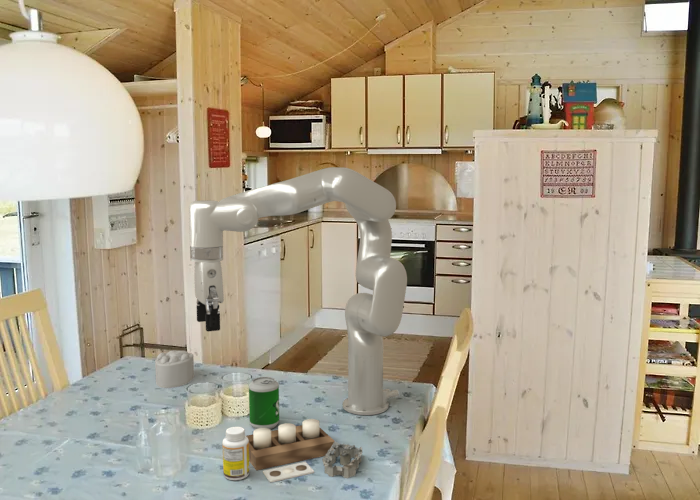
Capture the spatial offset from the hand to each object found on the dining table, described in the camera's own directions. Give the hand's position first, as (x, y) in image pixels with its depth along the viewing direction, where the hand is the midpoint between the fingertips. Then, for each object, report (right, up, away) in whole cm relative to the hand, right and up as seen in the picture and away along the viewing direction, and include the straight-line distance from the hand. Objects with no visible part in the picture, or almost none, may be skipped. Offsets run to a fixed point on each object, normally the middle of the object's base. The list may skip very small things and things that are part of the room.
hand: (208, 325), depth 154 cm
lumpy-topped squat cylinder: (-21, -23, +47) cm, 56 cm away
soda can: (+12, -27, +13) cm, 32 cm away
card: (+20, -31, -12) cm, 38 cm away
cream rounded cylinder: (+13, -27, -5) cm, 30 cm away
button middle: (+19, -27, -2) cm, 33 cm away
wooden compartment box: (+19, -29, -2) cm, 35 cm away
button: (+24, -26, +1) cm, 36 cm away
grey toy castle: (+32, -31, -9) cm, 45 cm away
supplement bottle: (+9, -31, -13) cm, 35 cm away
